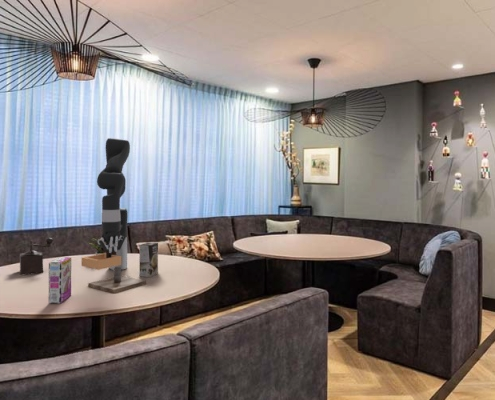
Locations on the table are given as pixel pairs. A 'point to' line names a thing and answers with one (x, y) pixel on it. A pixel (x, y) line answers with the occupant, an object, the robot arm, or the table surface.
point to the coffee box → (148, 259)
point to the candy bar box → (59, 280)
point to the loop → (101, 261)
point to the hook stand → (117, 282)
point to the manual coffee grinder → (33, 259)
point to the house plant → (97, 248)
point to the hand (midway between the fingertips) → (111, 260)
